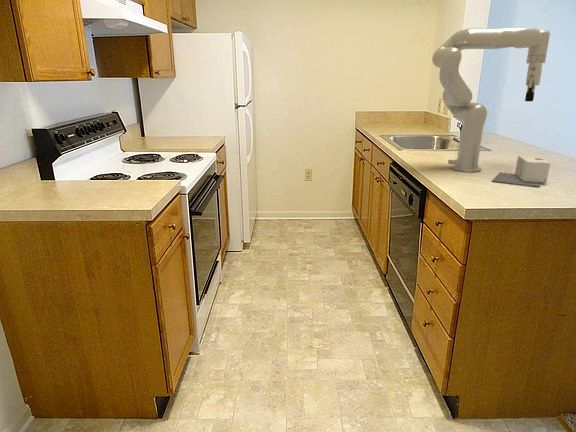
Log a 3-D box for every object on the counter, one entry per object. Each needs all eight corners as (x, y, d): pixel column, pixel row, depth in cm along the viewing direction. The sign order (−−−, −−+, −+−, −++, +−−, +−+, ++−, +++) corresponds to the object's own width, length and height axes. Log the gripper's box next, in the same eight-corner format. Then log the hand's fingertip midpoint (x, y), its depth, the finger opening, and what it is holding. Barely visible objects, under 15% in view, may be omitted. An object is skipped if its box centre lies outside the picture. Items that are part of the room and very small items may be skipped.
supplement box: (540, 155, 184) (551, 162, 171) (535, 175, 187) (547, 183, 174) (517, 154, 186) (527, 161, 173) (514, 174, 189) (523, 182, 176)
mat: (491, 181, 179) (491, 180, 179) (499, 173, 194) (499, 172, 194) (539, 187, 169) (539, 186, 169) (543, 178, 184) (544, 177, 184)
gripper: (543, 59, 182) (536, 102, 188) (546, 60, 193) (539, 100, 199) (524, 59, 186) (517, 101, 192) (528, 60, 197) (522, 100, 203)
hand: (528, 101), depth 195 cm, fingers closed
